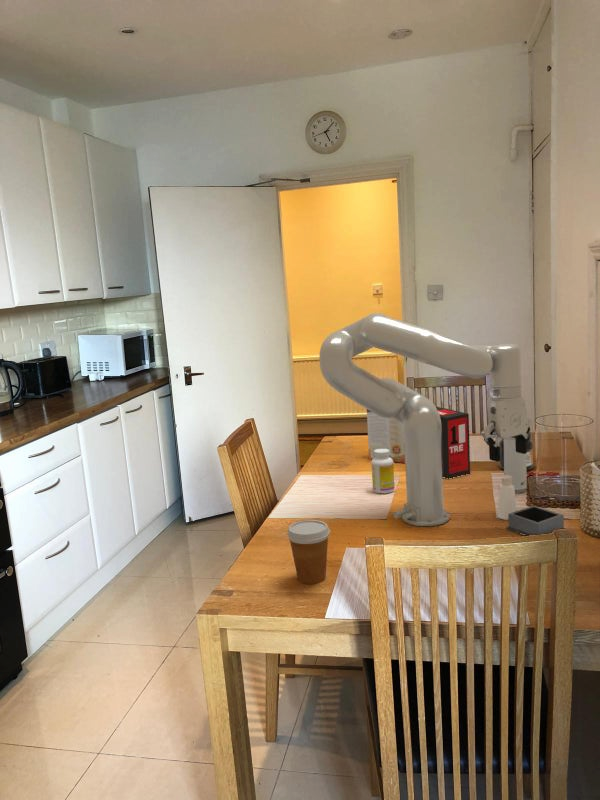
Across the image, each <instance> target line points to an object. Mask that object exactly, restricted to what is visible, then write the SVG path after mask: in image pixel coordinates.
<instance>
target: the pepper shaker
mask: <svg viewBox="0 0 600 800" xmlns="http://www.w3.org/2000/svg"><path fill="white" fill-rule="evenodd" d="M500 478H501V484H500V485H499V487H498V489H499V490H498V499H497V508H496V509H497V511H496V516H497V518H499V519H501V520H505V521H508V514H510V513H513V512H516V511H518V507H517V506H518V505H517V500H516V499H517V498H516V493H515V489H514V486H513V485H512V477H511V476H508V475H505V476H504V475H502V476H501V477H500Z"/></svg>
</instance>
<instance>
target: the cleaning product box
mask: <svg viewBox="0 0 600 800" xmlns="http://www.w3.org/2000/svg"><path fill="white" fill-rule="evenodd" d="M435 407H436V409H437V411H438V413H439V415H440V419H441V428H442V432H441V458H442V478H443V477H445V478H444V479H446V478H448V479H447V480H450V479H449V478H452V479H454V478H453V477H456V478H458V477H457V476H461V475H465V476H467V475H466V474H469V475H471V458H470V457H471V456H470V455H471V454H470V453H471V452H470V451H471V450H470V448H471V447H470V417H469V415H470V414H469V413H467V412H463V411H458V410H454V409H449V408H445V407H440V406H436V405H435ZM461 477H462V476H461Z"/></svg>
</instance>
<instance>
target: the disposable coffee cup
mask: <svg viewBox="0 0 600 800" xmlns="http://www.w3.org/2000/svg"><path fill="white" fill-rule="evenodd" d="M330 533H331V530H330V528H329V527H328V524H327V523H326V522H324V521H321V520H318V519H317V520H316V519H306V520H301V521H300V520H299V521H296V522H293V523H291V524H290V525H289V527H288V531H287V532H286V535H287V538H288V540H289V542H290V547H291V551H292V557H293V563H294V566H295V571H296V576H297V581H299V583H303V584H309V585H312V584H313V585H314V584H319V583H321V582H323V581H324V580H326V578H327V575H326V574H327V563H328V562H327V561H328V545H329V543H328V542H329V535H330Z"/></svg>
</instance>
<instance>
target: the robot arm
mask: <svg viewBox="0 0 600 800" xmlns="http://www.w3.org/2000/svg"><path fill="white" fill-rule="evenodd" d="M373 348H376V349H379V350H382V351H385V352H389V353H392V354H394V355H399V356H402V357H404V358H407V359H411V360H414V361H418V362H420V363H422V364H426V365H428V366H429V365H430V366H433V367H436V368H439V369H442V370H445V371H447V372H449V373H450V372H451V373H454V374H458V375H459V376H464V377H466V378H467V377H468V378H470V379H474V380H475V379H482V378H485V377H486V376H488V375H489V377H490V379H489V380H490V391H489V395H490V399H489V406H488V420H487V422H488V423H487V426H485V427H484V429H482V431H481V433H480V434H481V436H482V438H483V442H485V443H486V445H487V446H488V452H489V460H490V461H492V462H493V461H494V462H496V463H498V462H499V463H500V446H499V443H500V441H501V439H502V438H503V439H507V438H510V437H514V436H517V437H516V438H515V445H516V452H518V453H522V454H526V453H527V445H526V439H527V438H528V433H529V431H530V432H531V425H532V423H533V420H532V419H531V418H528V413H527V412H528V411H527V406H526V402H525V401H526V400H525V398H524V395H522V369H521V368H522V367H521V363H522V362H521V349H520V346H519V345H518V344H515V343H500V344H495V345H481V344H480V345H479V344H469V345H468V344H464V343H461V342H459V341H455V340H452V339H449V338H447V337H445V336H442V335H440V334H438V333H436V332H435V331H433V330H431V329H428V328H425V327H423V326H419V325H415V324H412V323H409V322H405V321H402V320H399V319H396V318H393V317H389V316H387V315H386V314H383V313H381V312H374V313H371V314H369V315H367V316H364V317H362V318H361V319H359V320H357V321H355V322H352V323H351V324H349V325H347V326H344V327H342V328H341V329H340V328H339V329H338V330H336V331H334V332H331V333H330V334H329V335H328V336H326V338H325V339H324V340H323V341H322V343H321V346H320V348H319V357H318V359H319V360H318V361H319V369H320V372H321V375H322V377H323V378H324V380H325V381H326V382H327V384H328V385H329V386H331V388H332V389H334V390H335V391H337V392H338V393H340V394H341V395H343V396H344V397H347V398H348V399H350V400H352V401H353V402H355V403H356V404H357V405H360V406H361V407H363V408H365V409H366V410H367V409H368V410H370V411H371V412H373V413H375V414H376V415H378V416H380V417H383V418H394V419H396V420H398V421H399V422H401V423H403V424H404V444H405V463H404V465H405V484H406V488H405V489H406V502H405V503H403V507H402V508H401V509H398V510H394V511H393V512H392V515H393V518H394V519H399V518H401V519H402V521H403V522H405V523H407V524H408V525H412V526H416V527H418V526H419V527H433V526H439V525H443V524H445V523H447V522H448V521H449V520H450V512H449V511H447V510H446V509H445V508H444V495H443V494H444V493H443V489H444V486H443V477H442V458H441V432H442V428H441V419H440V415H439V413H438V411H437V409H436V405H435V404H434V402H432V400H431V399H429V398H427V397H425V396H424V395H422V394H421V393H419V392H417V391H415V390H413V389H412V388H410V387H408V386H407V385H404V384H403V383H401V382H399V381H398V380H396V379H393V378H388V377H384V378H383V377H382V378H379V377H377V376H375V375H374V374H372V373H371V372H369V371H368V370H365V369H364V368H362V367H360V366H358V365H356V364H355V362H354V361H353V358H354V357H356V356H358V355H360V354H363V353H364V352H366V351H369V350H370V349H373Z"/></svg>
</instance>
